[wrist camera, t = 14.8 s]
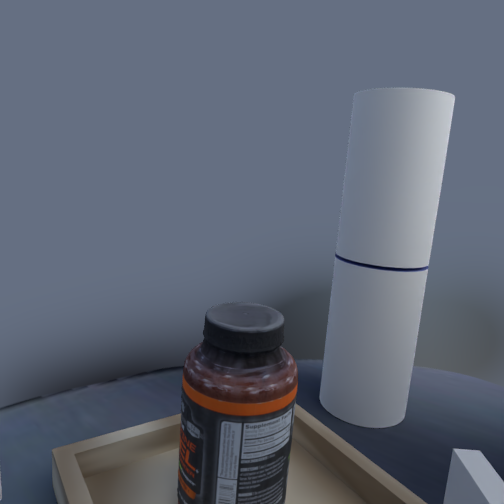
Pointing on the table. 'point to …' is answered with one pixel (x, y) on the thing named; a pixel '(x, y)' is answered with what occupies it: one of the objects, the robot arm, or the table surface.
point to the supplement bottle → (237, 409)
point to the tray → (167, 464)
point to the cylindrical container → (383, 251)
